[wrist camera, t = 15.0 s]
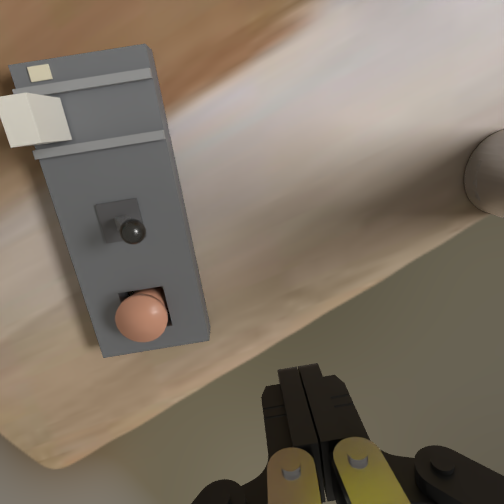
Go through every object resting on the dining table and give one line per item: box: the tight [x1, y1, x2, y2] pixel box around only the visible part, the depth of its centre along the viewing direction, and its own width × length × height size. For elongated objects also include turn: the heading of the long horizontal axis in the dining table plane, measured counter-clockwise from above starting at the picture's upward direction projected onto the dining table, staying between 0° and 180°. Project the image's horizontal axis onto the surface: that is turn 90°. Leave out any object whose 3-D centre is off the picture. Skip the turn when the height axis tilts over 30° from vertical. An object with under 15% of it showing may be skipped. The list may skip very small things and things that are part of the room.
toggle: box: [114, 215, 146, 245], centre depth 34 cm, size 2×2×6 cm
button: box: [115, 287, 168, 342], centre depth 41 cm, size 5×5×5 cm
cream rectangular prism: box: [0, 93, 72, 148], centre depth 31 cm, size 2×4×6 cm, turn 9°
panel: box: [8, 44, 210, 358], centre depth 39 cm, size 12×30×4 cm, turn 9°
